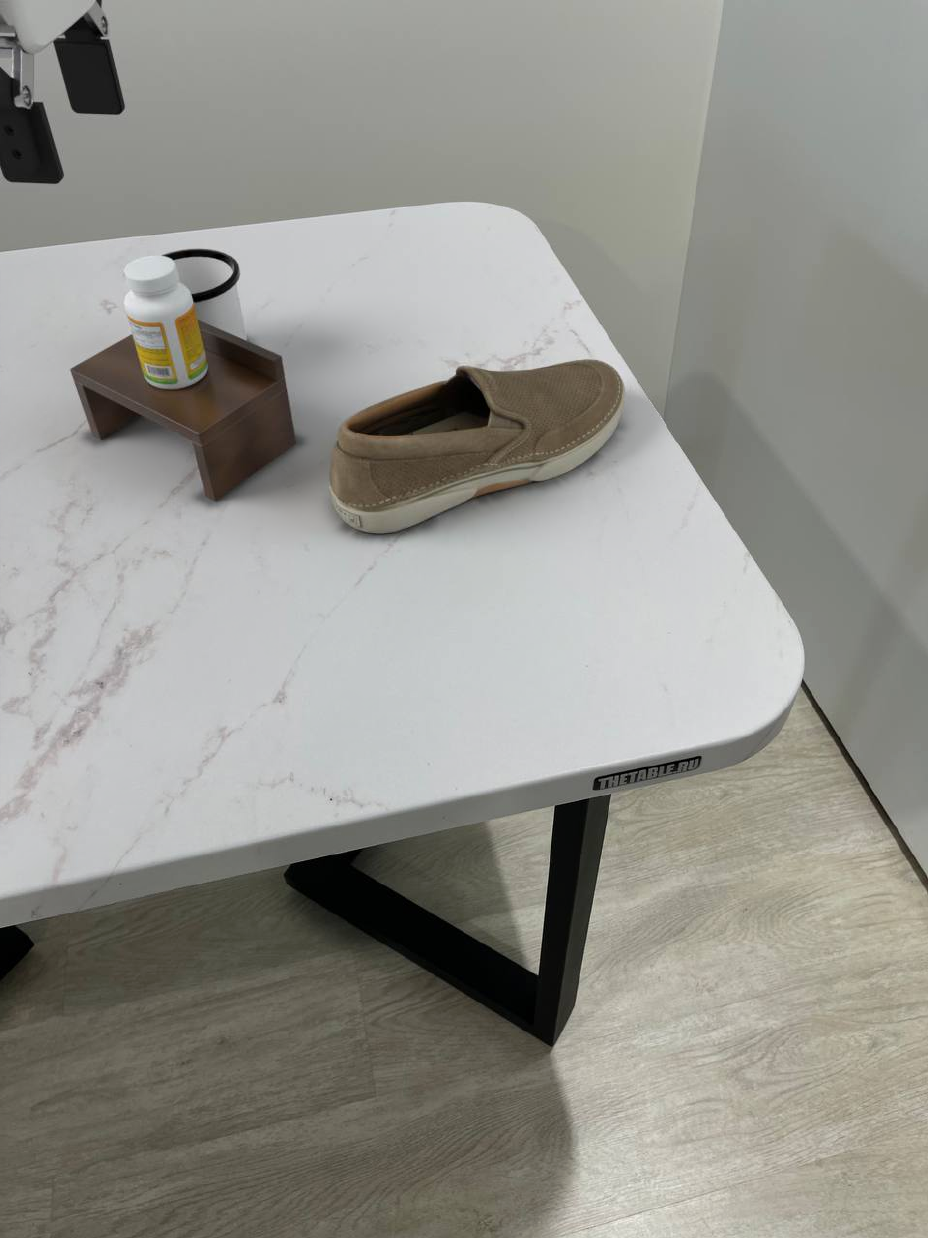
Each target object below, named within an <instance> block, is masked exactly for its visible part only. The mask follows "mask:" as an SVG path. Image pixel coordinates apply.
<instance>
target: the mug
mask: <svg viewBox="0 0 928 1238" xmlns="http://www.w3.org/2000/svg"><path fill="white" fill-rule="evenodd" d="M160 256H165V257H168V258H170V259H172V260H173V261H174V262H175V264H176V268H177V272H178V275H179V283H181V284H183V285H184V286H186V287H187V288H188V289H189V291H190V293H191V295H192V299H193V302H194V307H195V311H196V316H197V319H198V320H200V321H203V322H205V323H207V324H210V325H212V326H214V327H216V328H219V329H221V330H223V331H226V332H228V333H230V334H232V335H235V336H237V337H239V338H242V339H244V340H246V341H248V338H247V333H246V327H245V322H244V317H243V311H242V307H241V301H240V297H239V290H238V286H237V283H238V281H239V280H240V276H241V269H240V266H239V263H238V261H237V260H236V259H235V258H234V257H233V256H232V255H229V254H228V253H225V252H223V251H220V250H216V249H210V248H186V249H180V250H174V251H170V252H167V253H164V254H161V255H160Z"/></svg>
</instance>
